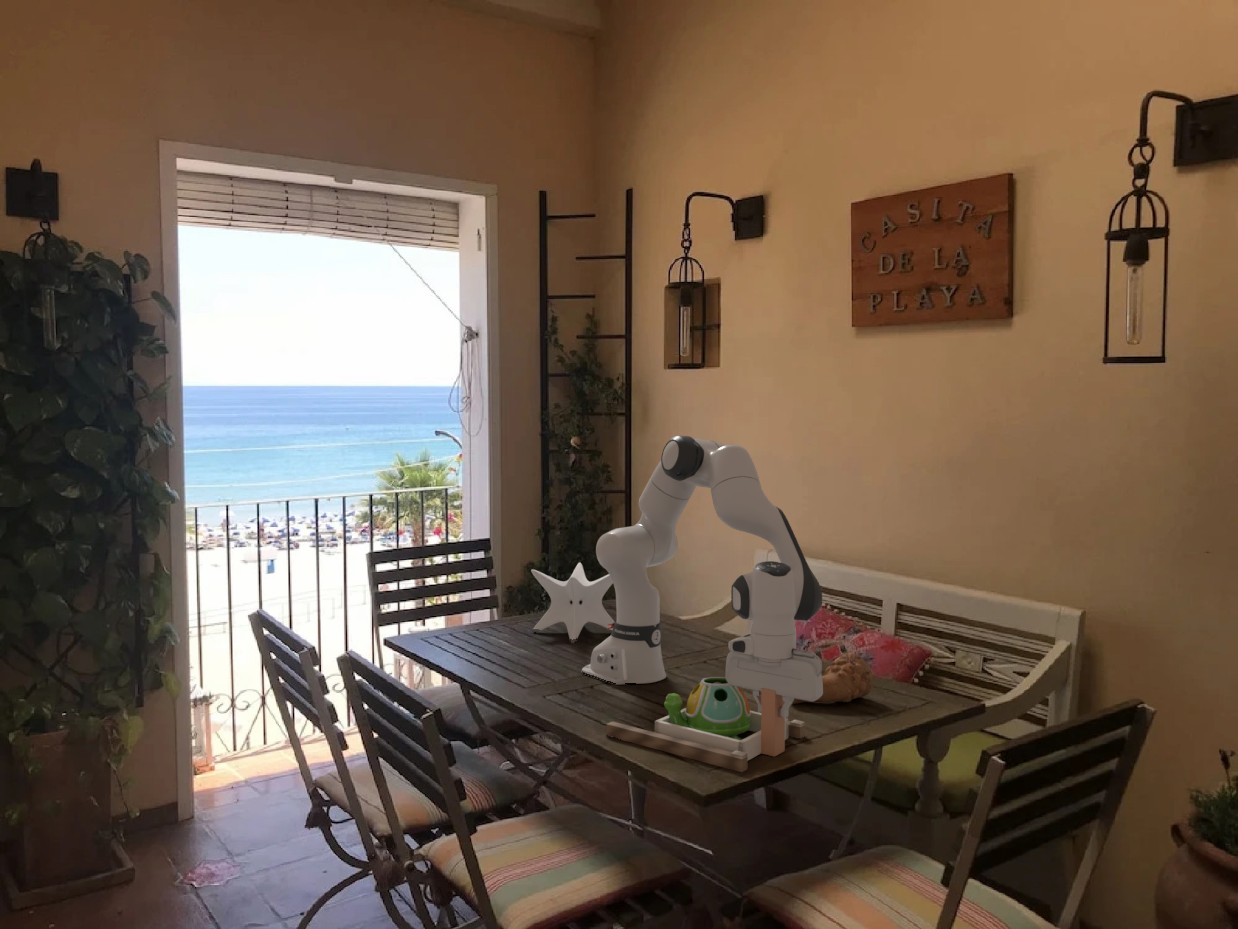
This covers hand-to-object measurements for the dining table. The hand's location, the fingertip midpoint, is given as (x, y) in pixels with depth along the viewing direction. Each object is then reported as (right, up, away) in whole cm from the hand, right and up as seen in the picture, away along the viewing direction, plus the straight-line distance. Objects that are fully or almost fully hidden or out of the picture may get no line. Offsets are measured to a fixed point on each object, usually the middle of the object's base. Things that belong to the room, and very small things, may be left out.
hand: (773, 714), depth 184 cm
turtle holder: (-11, -8, +10) cm, 17 cm away
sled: (-8, -7, +7) cm, 13 cm away
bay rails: (-13, -7, +10) cm, 18 cm away
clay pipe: (+19, -6, +35) cm, 40 cm away
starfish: (-44, -3, +105) cm, 113 cm away
